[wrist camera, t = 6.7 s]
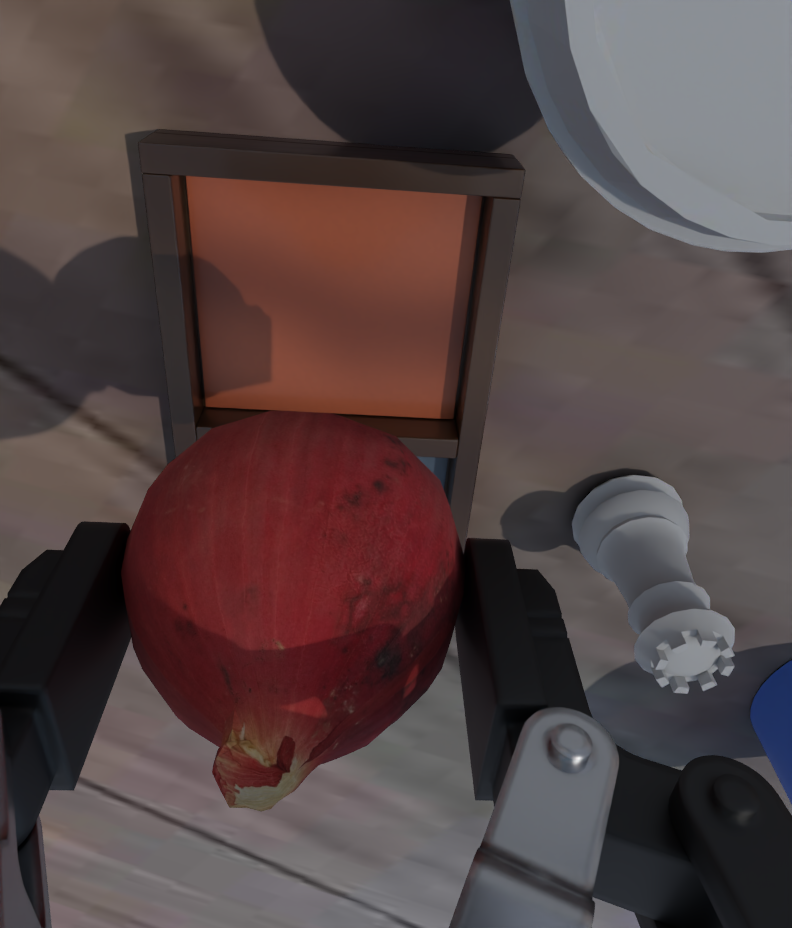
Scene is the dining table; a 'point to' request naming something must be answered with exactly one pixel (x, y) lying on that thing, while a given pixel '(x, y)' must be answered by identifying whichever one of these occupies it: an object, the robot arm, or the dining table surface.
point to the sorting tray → (332, 286)
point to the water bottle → (776, 722)
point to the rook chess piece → (655, 579)
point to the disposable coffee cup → (672, 110)
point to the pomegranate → (291, 592)
